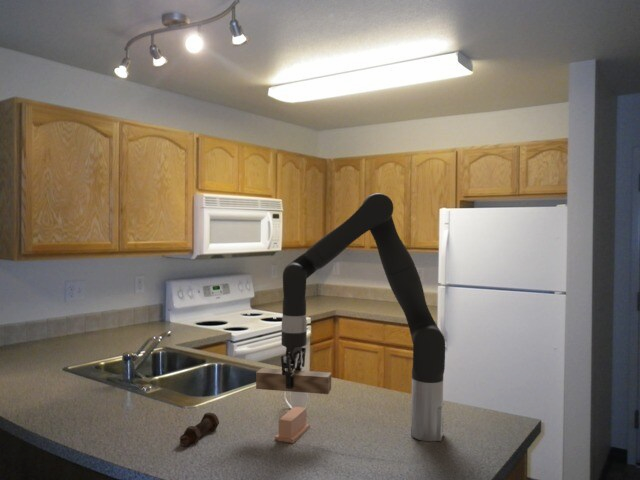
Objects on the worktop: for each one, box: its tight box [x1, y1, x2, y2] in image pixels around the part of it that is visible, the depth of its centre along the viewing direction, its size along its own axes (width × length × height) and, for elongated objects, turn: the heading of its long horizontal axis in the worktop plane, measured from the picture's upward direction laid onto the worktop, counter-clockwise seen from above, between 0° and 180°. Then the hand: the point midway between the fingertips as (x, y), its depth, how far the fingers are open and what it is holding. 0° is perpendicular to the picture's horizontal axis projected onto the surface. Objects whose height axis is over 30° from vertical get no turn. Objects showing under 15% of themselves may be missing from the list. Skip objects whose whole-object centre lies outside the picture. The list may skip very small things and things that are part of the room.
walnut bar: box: [255, 367, 332, 395], centre depth 159 cm, size 22×5×5 cm, turn 78°
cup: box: [283, 391, 309, 410], centre depth 180 cm, size 7×10×8 cm
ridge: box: [274, 406, 311, 444], centre depth 159 cm, size 6×13×6 cm, turn 160°
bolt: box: [179, 412, 220, 447], centre depth 156 cm, size 6×5×15 cm
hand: (293, 385), depth 159 cm, fingers closed on walnut bar, 5 cm apart
